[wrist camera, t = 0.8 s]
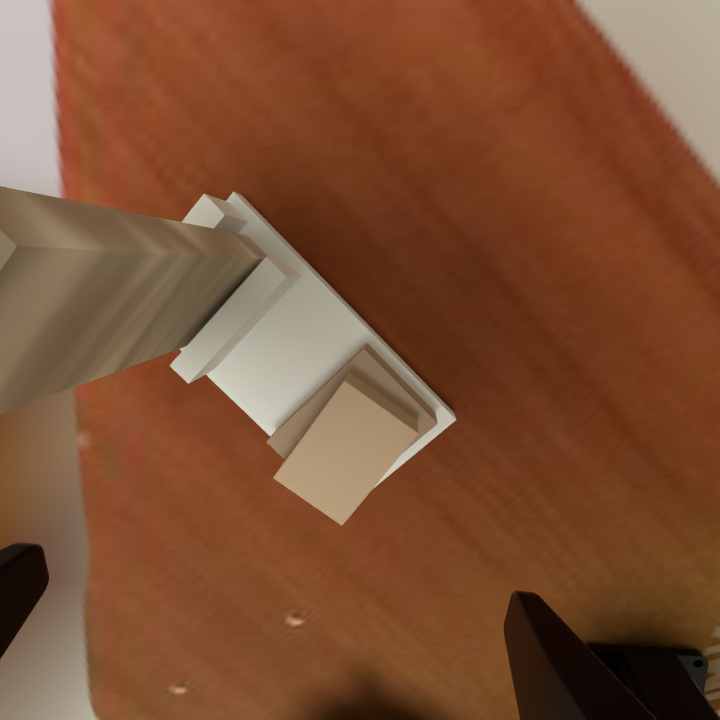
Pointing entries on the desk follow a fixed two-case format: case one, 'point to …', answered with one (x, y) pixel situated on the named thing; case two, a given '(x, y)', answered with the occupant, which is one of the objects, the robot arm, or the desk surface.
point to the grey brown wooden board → (102, 290)
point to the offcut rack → (309, 372)
